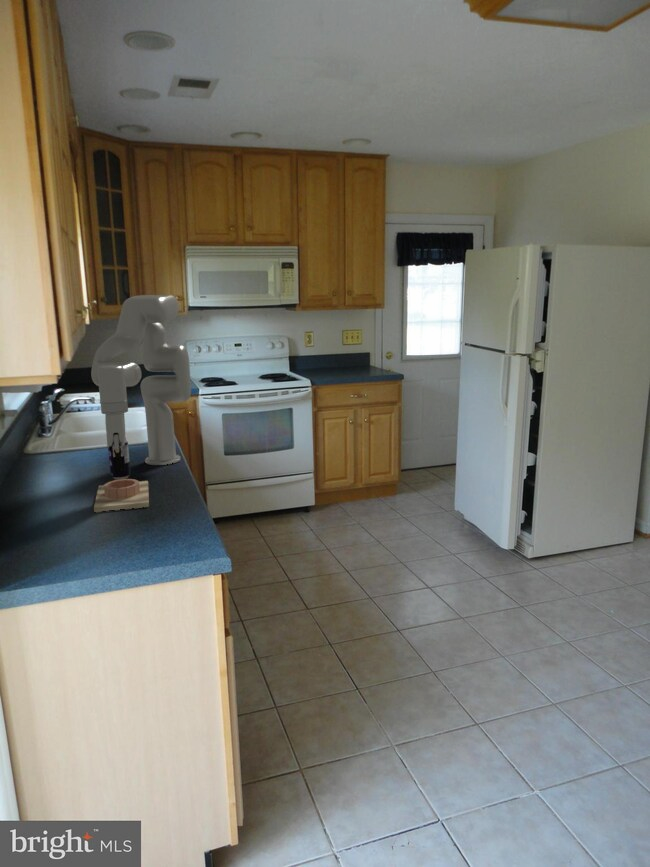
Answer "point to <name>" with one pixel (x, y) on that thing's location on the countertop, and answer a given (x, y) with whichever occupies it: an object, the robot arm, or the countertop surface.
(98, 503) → the base board
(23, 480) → the countertop surface
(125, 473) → the beverage can
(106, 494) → the segmented ring
